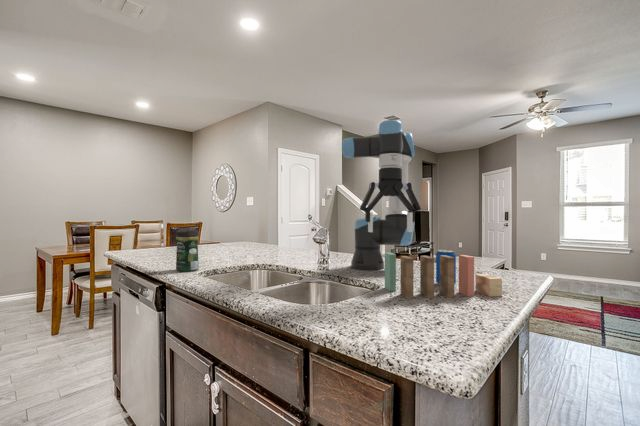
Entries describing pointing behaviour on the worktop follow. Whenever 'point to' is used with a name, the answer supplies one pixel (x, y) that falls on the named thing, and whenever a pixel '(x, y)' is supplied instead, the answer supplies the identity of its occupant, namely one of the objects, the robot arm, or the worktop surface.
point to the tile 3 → (427, 276)
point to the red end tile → (466, 275)
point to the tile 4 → (447, 275)
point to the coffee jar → (187, 249)
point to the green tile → (390, 271)
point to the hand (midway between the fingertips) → (390, 232)
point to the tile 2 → (407, 277)
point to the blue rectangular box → (440, 252)
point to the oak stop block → (489, 285)
